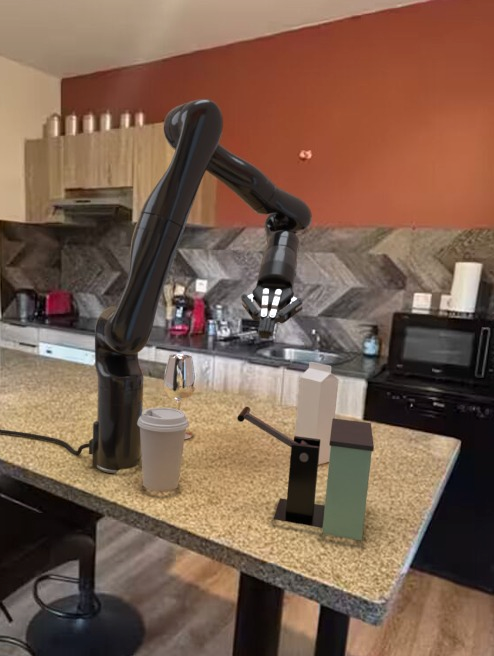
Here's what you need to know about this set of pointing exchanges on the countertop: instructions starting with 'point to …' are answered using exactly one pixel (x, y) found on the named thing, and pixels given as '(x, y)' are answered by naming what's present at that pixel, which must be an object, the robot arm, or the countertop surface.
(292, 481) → the black lever stand
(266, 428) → the lever
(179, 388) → the wineglass
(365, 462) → the green lidded box
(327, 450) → the milk
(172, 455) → the coffee cup
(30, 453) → the countertop surface
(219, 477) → the countertop surface
